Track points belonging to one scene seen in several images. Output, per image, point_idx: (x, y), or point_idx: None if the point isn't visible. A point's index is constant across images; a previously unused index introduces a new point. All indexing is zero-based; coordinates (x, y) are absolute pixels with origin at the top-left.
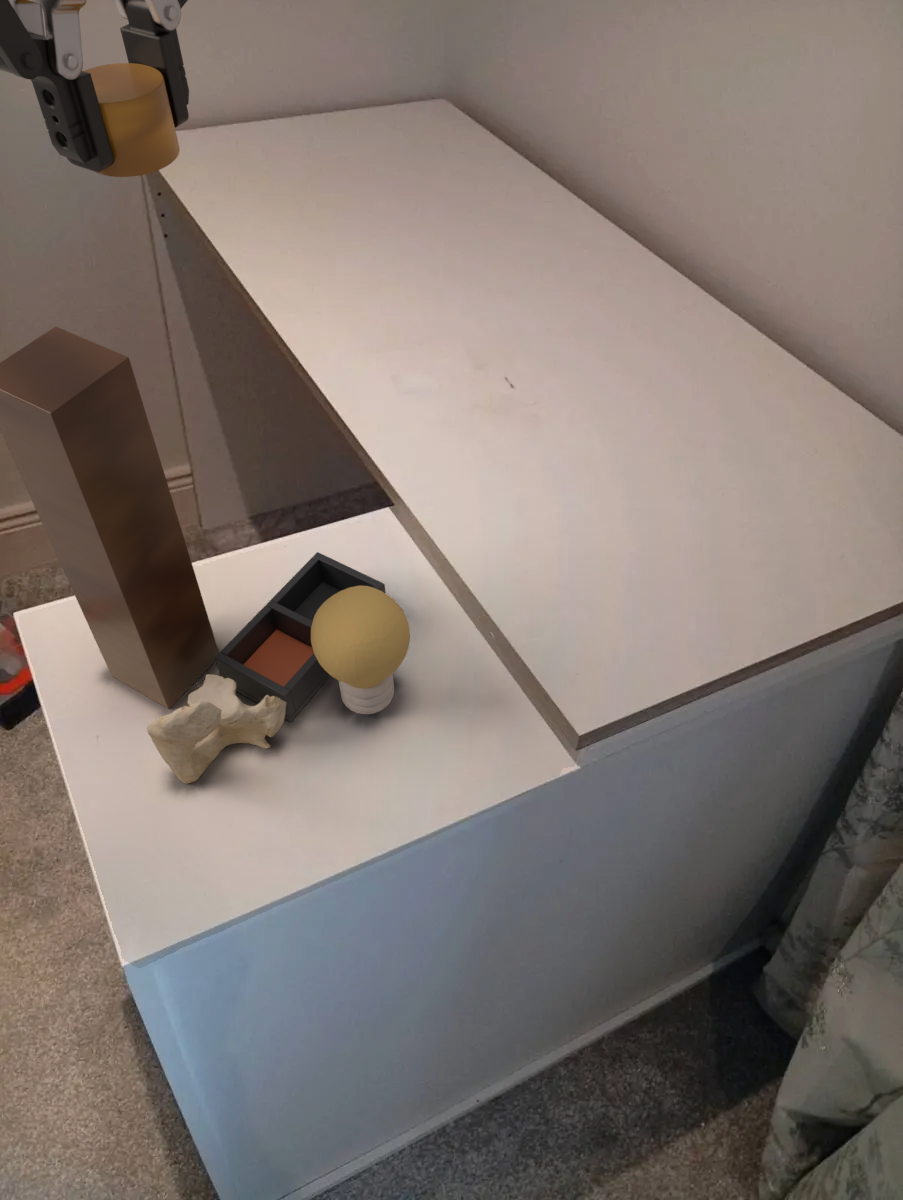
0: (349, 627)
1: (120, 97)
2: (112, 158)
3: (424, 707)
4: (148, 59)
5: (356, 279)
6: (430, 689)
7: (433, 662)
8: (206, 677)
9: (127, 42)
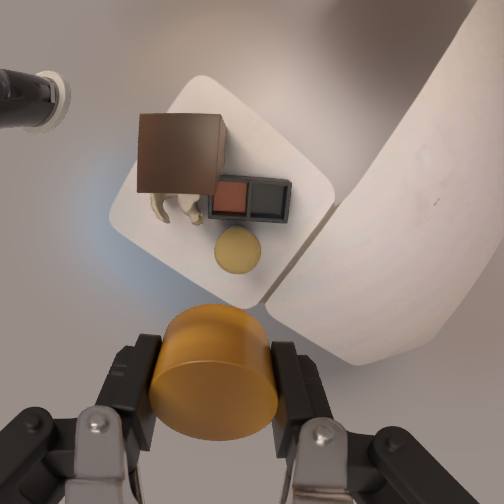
0: (226, 261)
1: (184, 429)
2: None
3: None
4: (277, 418)
5: (473, 98)
6: None
7: (266, 250)
8: None
9: (284, 409)
